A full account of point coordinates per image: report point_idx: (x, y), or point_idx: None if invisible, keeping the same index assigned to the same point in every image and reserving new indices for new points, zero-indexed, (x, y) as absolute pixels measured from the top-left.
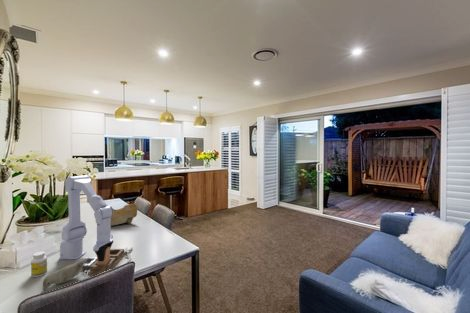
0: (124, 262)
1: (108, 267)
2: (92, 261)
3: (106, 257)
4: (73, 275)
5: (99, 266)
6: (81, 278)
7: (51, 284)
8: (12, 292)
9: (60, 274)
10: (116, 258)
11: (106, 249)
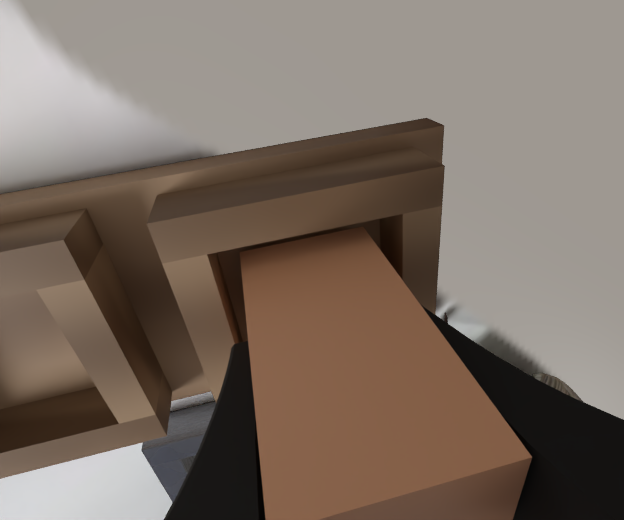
0: (59, 59)
1: (414, 160)
2: None
3: (390, 309)
4: (551, 381)
5: (435, 280)
6: (477, 321)
7: None
8: None
9: None
10: (88, 233)
11: (479, 478)
